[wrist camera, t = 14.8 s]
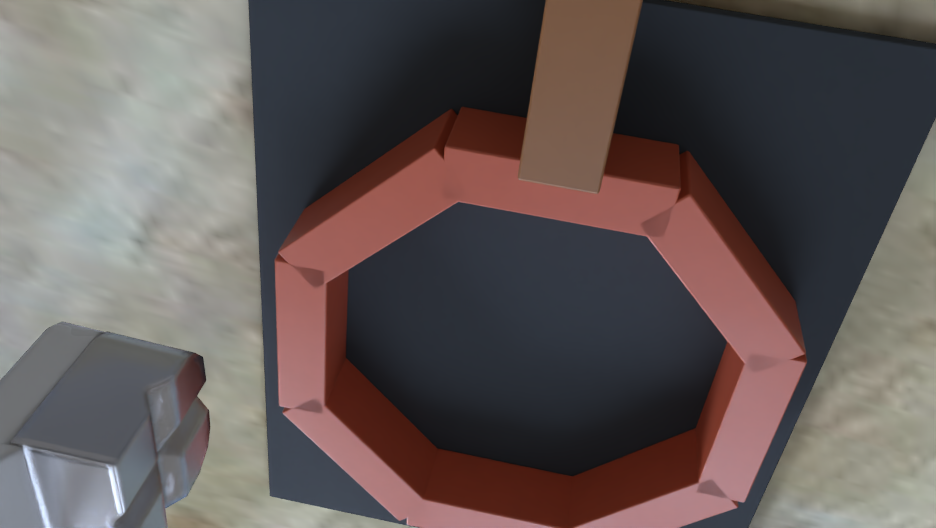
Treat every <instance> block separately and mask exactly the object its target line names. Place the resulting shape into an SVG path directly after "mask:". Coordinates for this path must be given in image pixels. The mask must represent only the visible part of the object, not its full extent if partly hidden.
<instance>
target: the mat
mask: <svg viewBox="0 0 936 528" xmlns="http://www.w3.org/2000/svg"><path fill="white" fill-rule="evenodd" d="M545 2H546V0H249V23H250V46H251V69H252V92H253V115H254V138H255V161H256V185H257V208H258V231H259V254H260V277H261V300H262V323H263V346H264V370H265V393H266V416H267V439H268V462H269V485H270V496H272V497H277V498H281V499H286V500H291V501H295V502H300V503H305V504H310V505H314V506H319V507H324V508H328V509H333V510H338V511H342V512H347V513H352V514H356V515H361V516H366V517H370V518H375V519H380V520H384V521H389V522H394V523H398V524H403V525H407V523H406V522H407V518H405V519H403V520H401V521H399V520H398V519H397V518H395V517H394V516H393V515H392V514H391V513H390V512H389V511H388V510H387V509H386V508H385V507H384V506H382V505H381V504H380V503H379V502H378V501H377V500H376V499H375V498H374V497H373V496H372V495H370V494H369V493H368V492H367V491H366V490H365V489H364V488H363V487H362V486H361V485H360V484H359V483H357V482H356V481H355V480H354V479H353V478H352V477H351V476H350V475H349V474H348V473H347V472H346V471H344V470H343V469H342V468H341V467H340V466H339V465H338V464H337V463H336V462H335V461H334V460H333V459H331V458H330V457H329V456H328V455H327V454H326V453H325V452H324V451H323V450H322V449H321V448H320V447H318V446H317V445H316V444H315V443H314V442H313V441H312V440H311V439H310V438H309V437H308V436H307V435H305V434H304V433H303V432H302V431H301V430H300V429H299V428H298V427H297V426H296V425H295V424H294V423H292V422H291V421H290V420H289V419H288V418H287V417H286V416H285V415H284V414H283V413H282V412H283V410H284V408H285V407H281V406H279V396H278V361H277V325H276V290H275V258H276V256H277V255H278V251H279V249H280V247H281V246H282V244H283V243H284V241H285V239H286V238H287V236H288V235H289V233H290V231H291V230H292V228H293V227H294V225H295V223H296V222H297V220H298V219H299V217H300V215H301V214H302V212H303V211H304V209H305V208H307V207H308V206H310V205H311V204H313V203H314V202H316V201H317V200H318V199H320V198H321V197H323V196H324V195H326V194H327V193H329V192H330V191H332V190H333V189H334V188H336V187H337V186H339V185H340V184H342V183H343V182H345V181H346V180H348V179H349V178H351V177H352V176H353V175H355V174H356V173H358V172H359V171H361V170H362V169H364V168H365V167H367V166H368V165H369V164H371V163H372V162H374V161H375V160H377V159H378V158H380V157H381V156H383V155H384V154H386V153H387V152H388V151H390V150H391V149H393V148H394V147H396V146H397V145H399V144H400V143H402V142H403V141H405V140H406V139H407V138H409V137H410V136H412V135H413V134H415V133H416V132H418V131H419V130H421V129H422V128H423V127H425V126H426V125H428V124H429V123H431V122H432V121H434V120H435V119H437V118H438V117H440V116H441V115H442V114H444V113H445V112H447V111H448V110H450V109H453V110H454V112H455V113H456V114H457V115H458V114H459V112H460V109H461V107H467V108H473V109H478V110H484V111H490V112H495V113H501V114H507V115H513V116H518V117H524V118H527V114H528V108H529V102H530V95H531V89H532V83H533V77H534V70H535V64H536V58H537V52H538V45H539V39H540V33H541V27H542V20H543V14H544V8H545ZM935 118H936V44H934V43H928V42H921V41H915V40H909V39H903V38H897V37H890V36H884V35H878V34H872V33H865V32H859V31H853V30H847V29H840V28H834V27H828V26H822V25H816V24H809V23H803V22H797V21H791V20H784V19H778V18H772V17H766V16H759V15H753V14H747V13H741V12H734V11H728V10H722V9H716V8H710V7H703V6H697V5H691V4H685V3H678V2H672V1H666V0H643V2H642V7H641V11H640V16H639V20H638V24H637V29H636V33H635V38H634V42H633V47H632V51H631V55H630V60H629V64H628V69H627V73H626V78H625V82H624V86H623V91H622V95H621V100H620V104H619V109H618V113H617V118H616V122H615V126H614V131H613V133H615V134H621V135H627V136H632V137H638V138H644V139H649V140H655V141H661V142H666V143H672V144H677V145H679V155H680V154H682V153H684V152H686V151H689V152H690V153H691V155H692V156H693V158H694V159H695V160H696V162H697V163H698V165H699V166H700V168H701V169H702V170H703V172H704V173H705V175H706V176H707V177H708V179H709V180H710V182H711V183H712V184H713V186H714V187H715V189H716V190H717V191H718V193H719V194H720V196H721V197H722V198H723V200H724V201H725V203H726V204H727V206H728V207H729V208H730V210H731V211H732V213H733V214H734V215H735V217H736V218H737V220H738V221H739V222H740V224H741V225H742V227H743V228H744V229H745V231H746V232H747V234H748V235H749V237H750V238H751V239H752V241H753V242H754V244H755V245H756V246H757V248H758V249H759V251H760V252H761V253H762V255H763V256H764V258H765V259H766V260H767V262H768V263H769V265H770V266H771V268H772V269H773V270H774V272H775V273H776V275H777V276H778V277H779V279H780V280H781V282H782V283H783V284H784V286H785V287H786V289H787V290H788V291H789V293H790V294H791V296H792V297H793V299H794V300H795V302H796V307H797V311H798V316H799V321H800V326H801V330H802V335H803V340H804V345H805V350H806V358H807V364H806V366H805V368H804V371H803V373H802V375H801V377H800V380H799V382H798V384H797V386H796V388H795V391H794V393H793V395H792V397H791V400H790V402H789V404H788V406H787V409H786V411H785V413H784V415H783V418H782V420H781V422H780V424H779V427H778V429H777V431H776V433H775V436H774V438H773V440H772V442H771V445H770V447H769V449H768V451H767V454H766V456H765V458H764V460H763V463H762V465H761V467H760V469H759V472H758V474H757V476H756V478H755V480H754V483H753V485H752V487H751V489H750V492H749V494H748V496H747V498H746V501H745V502H739V501H738V508H735V509H732V510H729V511H726V512H724V513H721V514H718V515H715V516H712V517H709V518H706V519H703V520H700V521H697V522H694V523H691V524H688V525H685V526H682V527H679V528H748V527H749V525H750V523H751V520H752V518H753V516H754V514H755V512H756V509H757V507H758V505H759V503H760V501H761V498H762V496H763V494H764V492H765V490H766V488H767V485H768V483H769V481H770V479H771V477H772V474H773V472H774V470H775V468H776V466H777V463H778V461H779V459H780V457H781V455H782V453H783V450H784V448H785V446H786V444H787V442H788V439H789V437H790V435H791V433H792V431H793V428H794V426H795V424H796V422H797V420H798V418H799V415H800V413H801V411H802V409H803V407H804V404H805V402H806V400H807V398H808V396H809V393H810V391H811V389H812V387H813V385H814V383H815V380H816V378H817V376H818V374H819V372H820V369H821V367H822V365H823V363H824V361H825V359H826V356H827V354H828V352H829V350H830V348H831V345H832V343H833V341H834V339H835V337H836V334H837V332H838V330H839V328H840V326H841V324H842V321H843V319H844V317H845V315H846V313H847V310H848V308H849V306H850V304H851V302H852V299H853V297H854V295H855V293H856V291H857V289H858V286H859V284H860V282H861V280H862V278H863V275H864V273H865V271H866V269H867V267H868V264H869V262H870V260H871V258H872V256H873V254H874V251H875V249H876V247H877V245H878V243H879V240H880V238H881V236H882V234H883V232H884V229H885V227H886V225H887V223H888V221H889V219H890V216H891V214H892V212H893V210H894V208H895V205H896V203H897V201H898V199H899V197H900V194H901V192H902V190H903V188H904V186H905V184H906V181H907V179H908V177H909V175H910V173H911V170H912V168H913V166H914V164H915V162H916V159H917V157H918V155H919V153H920V151H921V149H922V146H923V144H924V142H925V140H926V138H927V135H928V133H929V131H930V129H931V127H932V124H933V122H934V120H935ZM726 344H727V340H726V339H725V337H724V336H723V335H722V334H721V332H720V331H719V330H718V328H717V327H716V326H715V324H714V323H713V322H712V321H711V319H710V318H709V317H708V315H707V314H706V313H705V311H704V310H703V309H702V308H701V306H700V305H699V304H698V302H697V301H696V300H695V298H694V297H693V296H692V295H691V293H690V292H689V291H688V289H687V288H686V287H685V285H684V284H683V283H682V282H681V280H680V279H679V278H678V276H677V275H676V274H675V272H674V271H673V270H672V268H671V267H670V266H669V265H668V263H667V262H666V261H665V259H664V258H663V257H662V255H661V254H660V253H659V252H658V250H657V249H656V248H655V246H654V245H653V244H652V242H651V241H650V240H649V239H648V237H647V236H642V235H636V234H631V233H625V232H620V231H615V230H609V229H604V228H598V227H593V226H587V225H582V224H577V223H571V222H566V221H560V220H555V219H550V218H544V217H539V216H533V215H528V214H522V213H517V212H512V211H506V210H501V209H495V208H490V207H484V206H479V205H474V204H468V203H463V202H457V203H456V204H454V205H452V206H451V207H449V208H447V209H446V210H444V211H443V212H441V213H439V214H438V215H436V216H434V217H433V218H431V219H430V220H428V221H426V222H425V223H423V224H422V225H420V226H418V227H417V228H415V229H413V230H412V231H410V232H409V233H407V234H405V235H404V236H402V237H400V238H399V239H397V240H396V241H394V242H392V243H391V244H389V245H387V246H386V247H384V248H383V249H381V250H379V251H378V252H376V253H375V254H373V255H371V256H370V257H368V258H366V259H365V260H363V261H362V262H360V263H358V264H357V265H355V266H353V267H352V268H350V269H349V271H348V301H347V332H346V358H347V359H348V360H349V361H350V362H351V363H352V364H353V365H354V366H355V367H356V368H357V369H358V370H359V371H360V372H361V373H362V374H363V375H364V376H365V377H366V378H367V379H368V380H369V381H370V382H371V383H372V384H373V385H374V386H375V387H376V388H377V389H378V390H379V391H380V392H381V393H382V394H383V395H384V396H385V397H386V398H387V399H388V400H389V401H390V402H391V403H392V404H393V405H394V406H395V407H396V408H397V409H398V410H399V411H400V412H401V413H402V414H403V415H404V416H405V417H406V418H407V419H408V420H409V421H410V422H411V423H412V424H413V425H414V426H415V427H416V428H417V429H418V430H419V431H420V432H421V433H422V434H423V435H424V436H425V437H426V438H427V439H428V440H429V441H430V442H431V443H432V444H433V445H434V446H435V447H436V448H438V449H443V450H448V451H453V452H457V453H462V454H467V455H472V456H477V457H481V458H486V459H491V460H496V461H501V462H506V463H510V464H515V465H520V466H525V467H530V468H535V469H539V470H544V471H549V472H554V473H559V474H563V475H568V476H575V475H577V474H580V473H583V472H585V471H588V470H590V469H593V468H595V467H598V466H600V465H603V464H605V463H608V462H610V461H613V460H616V459H618V458H621V457H623V456H626V455H628V454H631V453H633V452H636V451H638V450H641V449H643V448H646V447H649V446H651V445H654V444H656V443H659V442H661V441H664V440H666V439H669V438H671V437H674V436H676V435H679V434H682V433H684V432H687V431H689V430H692V429H694V428H696V426H697V423H698V420H699V418H700V415H701V412H702V409H703V407H704V404H705V401H706V399H707V396H708V393H709V390H710V388H711V385H712V382H713V380H714V377H715V374H716V371H717V369H718V366H719V363H720V360H721V358H722V355H723V352H724V350H725V347H726ZM408 526H410V525H408ZM413 527H415V526H413ZM417 528H420V527H417Z"/></svg>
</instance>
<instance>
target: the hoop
mask: <svg viewBox="0 0 936 528" xmlns="http://www.w3.org/2000/svg"><path fill="white" fill-rule="evenodd" d="M642 2H643V0H546V2H545V8H544V14H543V20H542V27H541V33H540V39H539V45H538V52H537V58H536V64H535V70H534V77H533V83H532V89H531V95H530V102H529V108H528V114H527V118H524V117H518V116H513V115H507V114H501V113H495V112H490V111H484V110H478V109H473V108H467V107H461V109H460V112H459V114H458V115H457V114H456V113H455V112H454V110H453V109H450V110H448V111H447V112H445V113H444V114H442V115H441V116H440V117H438V118H437V119H435V120H434V121H432V122H431V123H429V124H428V125H426V126H425V127H423V128H422V129H421V130H419V131H418V132H416V133H415V134H413V135H412V136H410V137H409V138H407V139H406V140H405V141H403V142H402V143H400V144H399V145H397V146H396V147H394V148H393V149H391V150H390V151H388V152H387V153H386V154H384V155H383V156H381V157H380V158H378V159H377V160H375V161H374V162H372V163H371V164H369V165H368V166H367V167H365V168H364V169H362V170H361V171H359V172H358V173H356V174H355V175H353V176H352V177H351V178H349V179H348V180H346V181H345V182H343V183H342V184H340V185H339V186H337V187H336V188H334V189H333V190H332V191H330V192H329V193H327V194H326V195H324V196H323V197H321V198H320V199H318V200H317V201H316V202H314V203H313V204H311V205H310V206H308V207H307V208H305V209H304V211H303V212H302V214H301V215H300V217H299V219H298V220H297V222H296V223H295V225H294V227H293V228H292V230H291V231H290V233H289V235H288V236H287V238H286V239H285V241H284V243H283V244H282V246H281V247H280V249H279V251H278V255H277V256H276V258H275V290H276V325H277V361H278V396H279V406H281V407H285V408H284V410H283V412H282V413H283V414H284V415H285V416H286V417H287V418H288V419H289V420H290V421H291V422H292V423H294V424H295V425H296V426H297V427H298V428H299V429H300V430H301V431H302V432H303V433H304V434H305V435H307V436H308V437H309V438H310V439H311V440H312V441H313V442H314V443H315V444H316V445H317V446H318V447H320V448H321V449H322V450H323V451H324V452H325V453H326V454H327V455H328V456H329V457H330V458H331V459H333V460H334V461H335V462H336V463H337V464H338V465H339V466H340V467H341V468H342V469H343V470H344V471H346V472H347V473H348V474H349V475H350V476H351V477H352V478H353V479H354V480H355V481H356V482H357V483H359V484H360V485H361V486H362V487H363V488H364V489H365V490H366V491H367V492H368V493H369V494H370V495H372V496H373V497H374V498H375V499H376V500H377V501H378V502H379V503H380V504H381V505H382V506H384V507H385V508H386V509H387V510H388V511H389V512H390V513H391V514H392V515H393V516H394V517H395V518H397V519H398V520H399V521H401V520H403V519H405V518H407V522H406V523H407V525H410V526H415V527H420V528H679V527H682V526H685V525H688V524H691V523H694V522H697V521H700V520H703V519H706V518H709V517H712V516H715V515H718V514H721V513H724V512H726V511H729V510H732V509H735V508H738V501H739V502H745V501H746V498H747V496H748V494H749V492H750V489H751V487H752V485H753V483H754V480H755V478H756V476H757V474H758V472H759V469H760V467H761V465H762V463H763V460H764V458H765V456H766V454H767V451H768V449H769V447H770V445H771V442H772V440H773V438H774V436H775V433H776V431H777V429H778V427H779V424H780V422H781V420H782V418H783V415H784V413H785V411H786V409H787V406H788V404H789V402H790V400H791V397H792V395H793V393H794V391H795V388H796V386H797V384H798V382H799V380H800V377H801V375H802V373H803V371H804V368H805V366H806V364H807V358H806V350H805V345H804V340H803V335H802V330H801V326H800V321H799V316H798V311H797V307H796V302H795V300H794V299H793V297H792V296H791V294H790V293H789V291H788V290H787V289H786V287H785V286H784V284H783V283H782V282H781V280H780V279H779V277H778V276H777V275H776V273H775V272H774V270H773V269H772V268H771V266H770V265H769V263H768V262H767V260H766V259H765V258H764V256H763V255H762V253H761V252H760V251H759V249H758V248H757V246H756V245H755V244H754V242H753V241H752V239H751V238H750V237H749V235H748V234H747V232H746V231H745V229H744V228H743V227H742V225H741V224H740V222H739V221H738V220H737V218H736V217H735V215H734V214H733V213H732V211H731V210H730V208H729V207H728V206H727V204H726V203H725V201H724V200H723V198H722V197H721V196H720V194H719V193H718V191H717V190H716V189H715V187H714V186H713V184H712V183H711V182H710V180H709V179H708V177H707V176H706V175H705V173H704V172H703V170H702V169H701V168H700V166H699V165H698V163H697V162H696V160H695V159H694V158H693V156H692V155H691V153H690V152H689V151H686V152H684V153H682V154H680V155H679V145H677V144H672V143H666V142H661V141H655V140H649V139H644V138H638V137H632V136H627V135H621V134H615V133H613V131H614V126H615V122H616V118H617V113H618V109H619V104H620V100H621V95H622V91H623V86H624V82H625V78H626V73H627V69H628V64H629V60H630V55H631V51H632V47H633V42H634V38H635V33H636V29H637V24H638V20H639V16H640V11H641V7H642ZM457 202H463V203H468V204H474V205H479V206H484V207H490V208H495V209H501V210H506V211H512V212H517V213H522V214H528V215H533V216H539V217H544V218H550V219H555V220H560V221H566V222H571V223H577V224H582V225H587V226H593V227H598V228H604V229H609V230H615V231H620V232H625V233H631V234H636V235H642V236H647V237H648V239H649V240H650V241H651V242H652V244H653V245H654V246H655V248H656V249H657V250H658V252H659V253H660V254H661V255H662V257H663V258H664V259H665V261H666V262H667V263H668V265H669V266H670V267H671V268H672V270H673V271H674V272H675V274H676V275H677V276H678V278H679V279H680V280H681V282H682V283H683V284H684V285H685V287H686V288H687V289H688V291H689V292H690V293H691V295H692V296H693V297H694V298H695V300H696V301H697V302H698V304H699V305H700V306H701V308H702V309H703V310H704V311H705V313H706V314H707V315H708V317H709V318H710V319H711V321H712V322H713V323H714V324H715V326H716V327H717V328H718V330H719V331H720V332H721V334H722V335H723V336H724V337H725V339H726V340H727V344H726V347H725V350H724V352H723V355H722V358H721V360H720V363H719V366H718V369H717V371H716V374H715V377H714V380H713V382H712V385H711V388H710V390H709V393H708V396H707V399H706V401H705V404H704V407H703V409H702V412H701V415H700V418H699V420H698V423H697V426H696V428H694V429H692V430H689V431H687V432H684V433H682V434H679V435H676V436H674V437H671V438H669V439H666V440H664V441H661V442H659V443H656V444H654V445H651V446H649V447H646V448H643V449H641V450H638V451H636V452H633V453H631V454H628V455H626V456H623V457H621V458H618V459H616V460H613V461H610V462H608V463H605V464H603V465H600V466H598V467H595V468H593V469H590V470H588V471H585V472H583V473H580V474H577V475H575V476H568V475H563V474H559V473H554V472H549V471H544V470H539V469H535V468H530V467H525V466H520V465H515V464H510V463H506V462H501V461H496V460H491V459H486V458H481V457H477V456H472V455H467V454H462V453H457V452H453V451H448V450H443V449H438V448H436V447H435V446H434V445H433V444H432V443H431V442H430V441H429V440H428V439H427V438H426V437H425V436H424V435H423V434H422V433H421V432H420V431H419V430H418V429H417V428H416V427H415V426H414V425H413V424H412V423H411V422H410V421H409V420H408V419H407V418H406V417H405V416H404V415H403V414H402V413H401V412H400V411H399V410H398V409H397V408H396V407H395V406H394V405H393V404H392V403H391V402H390V401H389V400H388V399H387V398H386V397H385V396H384V395H383V394H382V393H381V392H380V391H379V390H378V389H377V388H376V387H375V386H374V385H373V384H372V383H371V382H370V381H369V380H368V379H367V378H366V377H365V376H364V375H363V374H362V373H361V372H360V371H359V370H358V369H357V368H356V367H355V366H354V365H353V364H352V363H351V362H350V361H349V360H348V359H347V358H346V332H347V301H348V271H349V269H350V268H352V267H353V266H355V265H357V264H358V263H360V262H362V261H363V260H365V259H366V258H368V257H370V256H371V255H373V254H375V253H376V252H378V251H379V250H381V249H383V248H384V247H386V246H387V245H389V244H391V243H392V242H394V241H396V240H397V239H399V238H400V237H402V236H404V235H405V234H407V233H409V232H410V231H412V230H413V229H415V228H417V227H418V226H420V225H422V224H423V223H425V222H426V221H428V220H430V219H431V218H433V217H434V216H436V215H438V214H439V213H441V212H443V211H444V210H446V209H447V208H449V207H451V206H452V205H454V204H456V203H457Z"/></svg>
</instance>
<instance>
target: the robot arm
mask: <svg viewBox="0 0 936 528" xmlns="http://www.w3.org/2000/svg"><path fill="white" fill-rule="evenodd" d="M205 381H206V375H205V368H204V361H203V357H202V356H200V355H198V354H196V353H193V352H189V351H185V350H181V349H177V348H173V347H169V346H165V345H161V344H156V343H152V342H148V341H144V340H140V339H136V338H132V337H128V336H124V335H119V334H115V333H111V332H104V331H100V330H96V329H91V328H87V327H83V326H79V325H75V324H71V323H67V322H60V323H58V324H55V325H53V326H51V327H49V328H47V329H46V330H45V331H44V332H43V333H42V334H41V336H40V337H39V338H38V339H37V340H36V341H35V342H34V343H33V344H32V346H31V347H30V348H29V349H28V350H27V351H26V352H25V353H24V354H23V356H22V357H21V358H20V359H19V360H18V361H17V362H16V363H15V364H14V366H13V367H12V368H11V369H10V370H9V371H8V372H7V373H6V375H5V376H4V377H3V378H2V379H1V380H0V528H168V526H167V519H166V511H165V508H167V507H169V506H171V505H172V504H174V503H176V502H177V501H179V500H181V499H183V498H184V497H186V496H188V494H189V492H190V490H191V488H192V486H193V484H194V482H195V480H196V479H197V477H198V475H199V473H200V470H201V467H202V463H203V460H204V457H205V454H206V451H207V448H208V441H209V433H210V418H209V410H208V409H207V407H206V406H205V405H204V404H203V403H202V401H201V400H200V399H199V398H198V397H197V395H198V393H199V391H200V390H201V388H202V386H203V385H204V383H205Z"/></svg>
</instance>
